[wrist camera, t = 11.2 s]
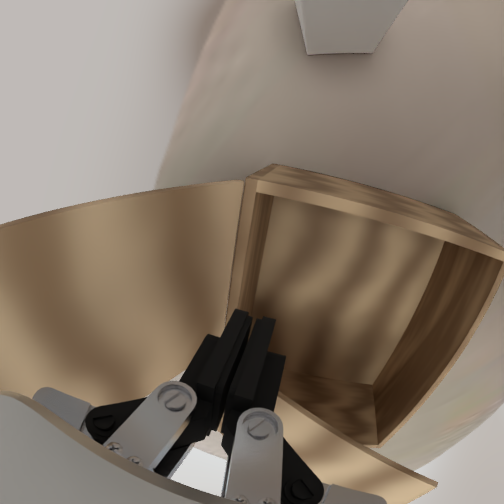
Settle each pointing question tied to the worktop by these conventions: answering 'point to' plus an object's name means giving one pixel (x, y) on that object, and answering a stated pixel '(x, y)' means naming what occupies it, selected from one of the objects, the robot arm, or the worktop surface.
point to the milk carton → (345, 24)
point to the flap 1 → (115, 290)
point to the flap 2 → (346, 457)
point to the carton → (359, 294)
